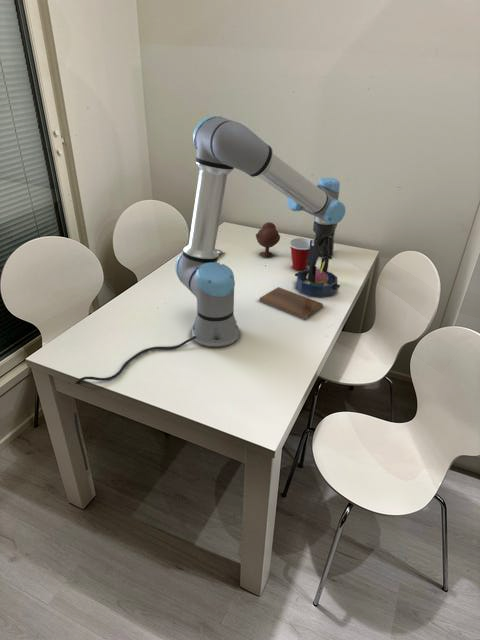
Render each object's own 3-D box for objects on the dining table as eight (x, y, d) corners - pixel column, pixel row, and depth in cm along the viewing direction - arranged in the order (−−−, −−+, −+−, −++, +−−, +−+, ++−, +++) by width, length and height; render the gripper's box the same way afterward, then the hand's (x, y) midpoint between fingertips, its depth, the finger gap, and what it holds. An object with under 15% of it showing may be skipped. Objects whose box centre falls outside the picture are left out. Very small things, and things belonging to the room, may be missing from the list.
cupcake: (326, 283, 185) (330, 256, 178) (327, 293, 177) (331, 265, 171) (305, 282, 185) (308, 254, 179) (305, 291, 178) (308, 263, 172)
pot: (326, 302, 171) (328, 291, 169) (285, 287, 181) (286, 277, 179) (346, 288, 182) (348, 278, 179) (306, 274, 191) (307, 264, 189)
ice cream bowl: (250, 252, 210) (252, 221, 202) (271, 249, 214) (274, 218, 206) (261, 261, 202) (263, 229, 194) (283, 257, 206) (285, 225, 198)
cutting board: (305, 319, 160) (305, 316, 159) (259, 301, 171) (259, 297, 170) (322, 307, 168) (323, 303, 167) (278, 290, 179) (278, 286, 178)
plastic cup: (285, 272, 193) (287, 245, 187) (288, 262, 202) (291, 236, 196) (310, 275, 191) (313, 248, 185) (313, 265, 200) (316, 239, 194)
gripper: (318, 231, 158) (311, 289, 170) (347, 217, 172) (339, 271, 184) (299, 226, 162) (294, 283, 174) (329, 212, 176) (322, 266, 188)
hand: (317, 277), depth 179 cm, fingers closed on cupcake, 8 cm apart
